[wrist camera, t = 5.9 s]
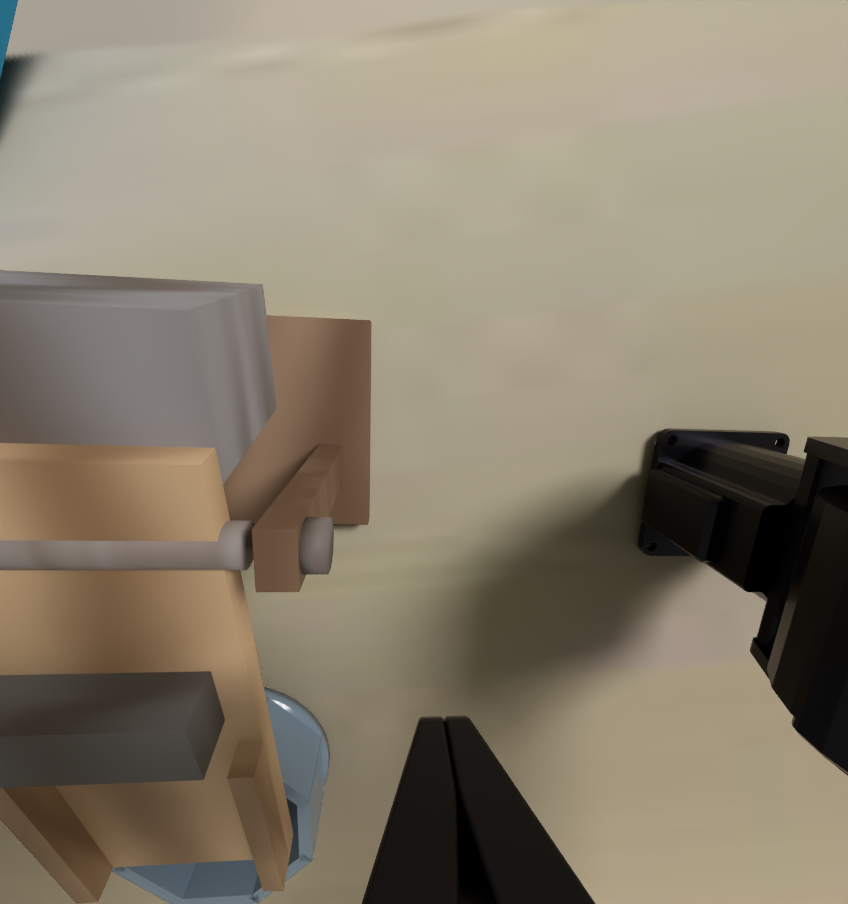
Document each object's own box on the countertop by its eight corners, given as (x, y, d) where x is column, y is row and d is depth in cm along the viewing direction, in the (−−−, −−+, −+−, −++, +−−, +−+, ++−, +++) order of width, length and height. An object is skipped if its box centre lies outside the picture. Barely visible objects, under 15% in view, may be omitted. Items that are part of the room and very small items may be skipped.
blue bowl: (328, 682, 22) (315, 749, 18) (330, 819, 24) (319, 903, 21) (136, 686, 21) (82, 756, 17) (158, 827, 23) (114, 916, 20)
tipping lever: (279, 285, 12) (147, 338, 6) (322, 717, 23) (292, 911, 16) (-43, 268, 12) (-605, 306, 5) (153, 722, 22) (51, 926, 16)
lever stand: (371, 322, 18) (344, 288, 8) (369, 516, 20) (346, 668, 10) (23, 305, 16) (-478, 244, 7) (61, 512, 19) (-284, 681, 9)
